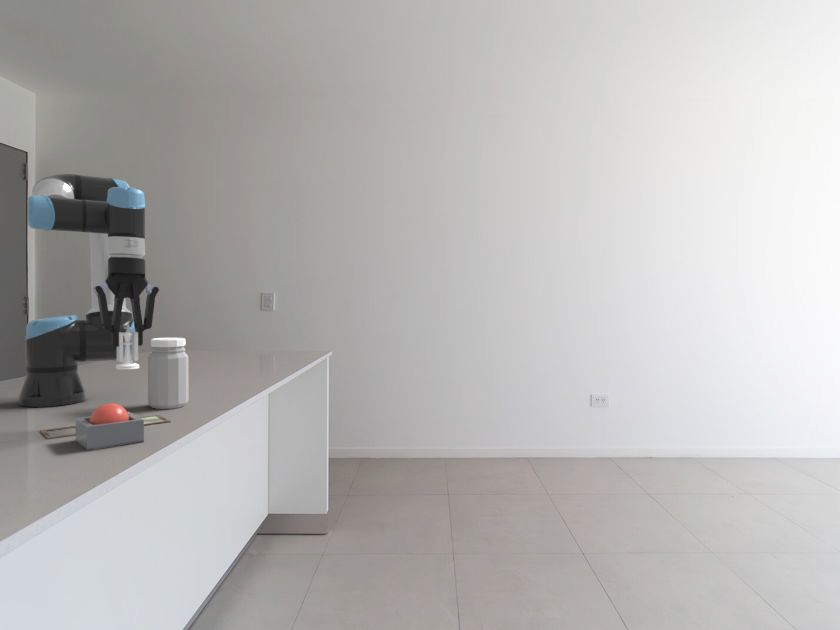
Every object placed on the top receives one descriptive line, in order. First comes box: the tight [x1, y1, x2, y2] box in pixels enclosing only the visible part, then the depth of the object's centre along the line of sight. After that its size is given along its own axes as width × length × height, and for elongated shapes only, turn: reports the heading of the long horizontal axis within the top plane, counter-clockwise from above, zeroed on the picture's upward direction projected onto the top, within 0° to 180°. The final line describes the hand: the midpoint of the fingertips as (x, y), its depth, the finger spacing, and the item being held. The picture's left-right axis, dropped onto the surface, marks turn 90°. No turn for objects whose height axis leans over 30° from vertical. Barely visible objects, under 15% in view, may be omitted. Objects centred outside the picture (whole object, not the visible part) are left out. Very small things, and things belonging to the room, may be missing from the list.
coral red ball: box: [89, 403, 129, 425], centre depth 113 cm, size 7×7×7 cm
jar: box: [147, 337, 190, 410], centre depth 148 cm, size 10×10×18 cm
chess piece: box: [114, 324, 140, 371], centre depth 127 cm, size 5×5×10 cm
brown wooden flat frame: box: [39, 414, 171, 440], centre depth 125 cm, size 9×24×1 cm, turn 132°
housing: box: [74, 411, 145, 452], centre depth 113 cm, size 10×10×4 cm
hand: (127, 360), depth 127 cm, fingers closed on chess piece, 2 cm apart
